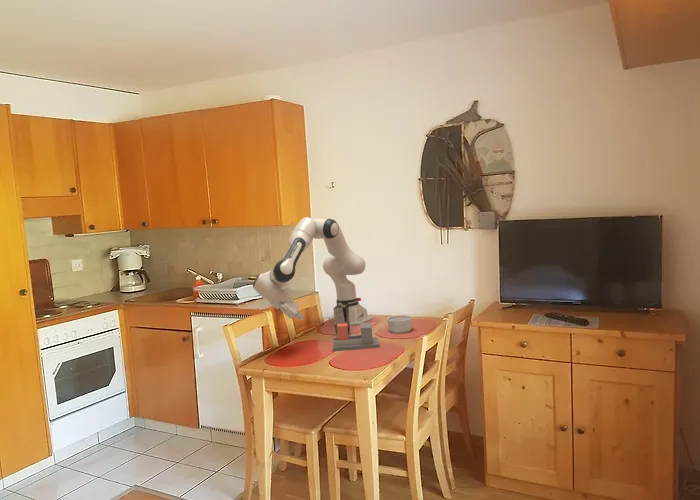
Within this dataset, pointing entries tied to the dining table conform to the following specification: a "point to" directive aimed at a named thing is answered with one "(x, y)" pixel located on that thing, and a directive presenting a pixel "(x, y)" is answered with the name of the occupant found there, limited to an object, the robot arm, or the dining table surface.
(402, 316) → the ramekin
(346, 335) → the red upright block
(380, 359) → the dining table surface
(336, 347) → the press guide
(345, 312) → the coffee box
